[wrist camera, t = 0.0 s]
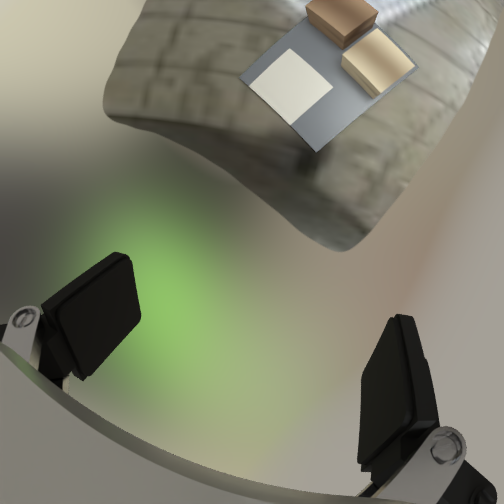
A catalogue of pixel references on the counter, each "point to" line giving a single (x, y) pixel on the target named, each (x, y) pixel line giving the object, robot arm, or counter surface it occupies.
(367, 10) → the walnut block
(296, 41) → the build board
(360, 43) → the maple block
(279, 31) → the counter surface
